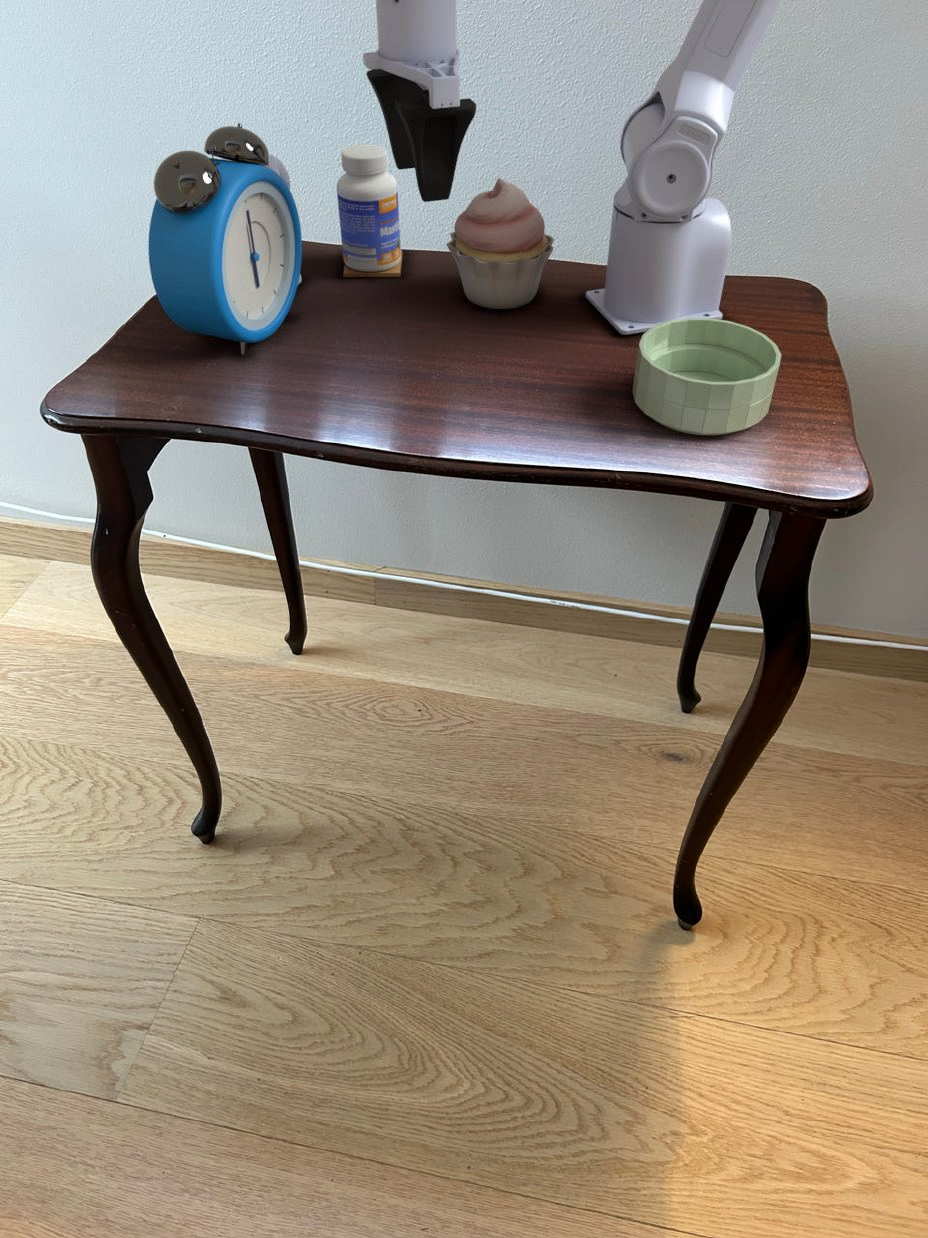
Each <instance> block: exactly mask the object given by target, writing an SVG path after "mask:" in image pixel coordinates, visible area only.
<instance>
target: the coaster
mask: <svg viewBox="0 0 928 1238" xmlns="http://www.w3.org/2000/svg"><path fill="white" fill-rule="evenodd" d="M402 264H403V250H402V249H401V259H400V262H399V263H398V264H397V265H396V266H394V267H392V268H390V269H387V270H384V271H379V272H363V271H358V270H355V269H352V268H350V267H348V266H347V265H346V264H345V263H344V269H343V274H342V275H343V278H401V274H402V273H401V271H402Z"/></svg>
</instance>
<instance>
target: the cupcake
mask: <svg viewBox="0 0 928 1238" xmlns="http://www.w3.org/2000/svg"><path fill="white" fill-rule="evenodd" d="M545 230H546V226H545V220H544V217H543V215H542V213H541V212H540V210H539V209H538V208H537V207H536V206H535V205H533V204H532V203H531V202H530V200H529V198H528V197H527V196H526V194H525V192H524V191H523V190H522V189H520V188H519V187H518V186H516V185H515V184H513V183H511V182H509V181H506V180H504V179H503V178H501V177H499V178H497V180H496V182H495V184H494V186H493V187H492V190H486V191H484V192H483V191H482V192H480V193H478V194H477V195H475V196H474V197H473V198H472V199H471V201H470V203H469V204H468V206H467V207H466V208H465V210H464V211H463V212H462V213H461V214H459V215H458V216H457V218H456V220H455V222H454V231H453V232H450V233H449V236H450V238H451V240H450V241H449V242H447V243H446V247H447V248H448V249H447V250H449V252H450V254H451V256H452V257H453V259H454V261H455V263H456V266H457V269H458V273H459V276H460V280H461V283H462V289H463V293H464V295H465V296H466V298H467V300H468V301H469V302H471V303H472V304H475V305H476V306H478V307H481V308H482V307H483V308H485V309H486V308H487V309H493V310H494V309H495V310H508V309H509V310H510V309H516V308H520V307H522V306H525V305H527V304H529V303H530V302H532V301H533V300H534V298H535V296H536V294H537V292H538V289H539V285H540V282H541V278H542V275H543V272H544V267H545V265H546V264H547V262H548V260H549V258H550V256H551V254H552V253H553V251H554V246H553V243H554V242H555V238H554V237H553V236H552V235H548V234H546V233H545Z"/></svg>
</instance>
